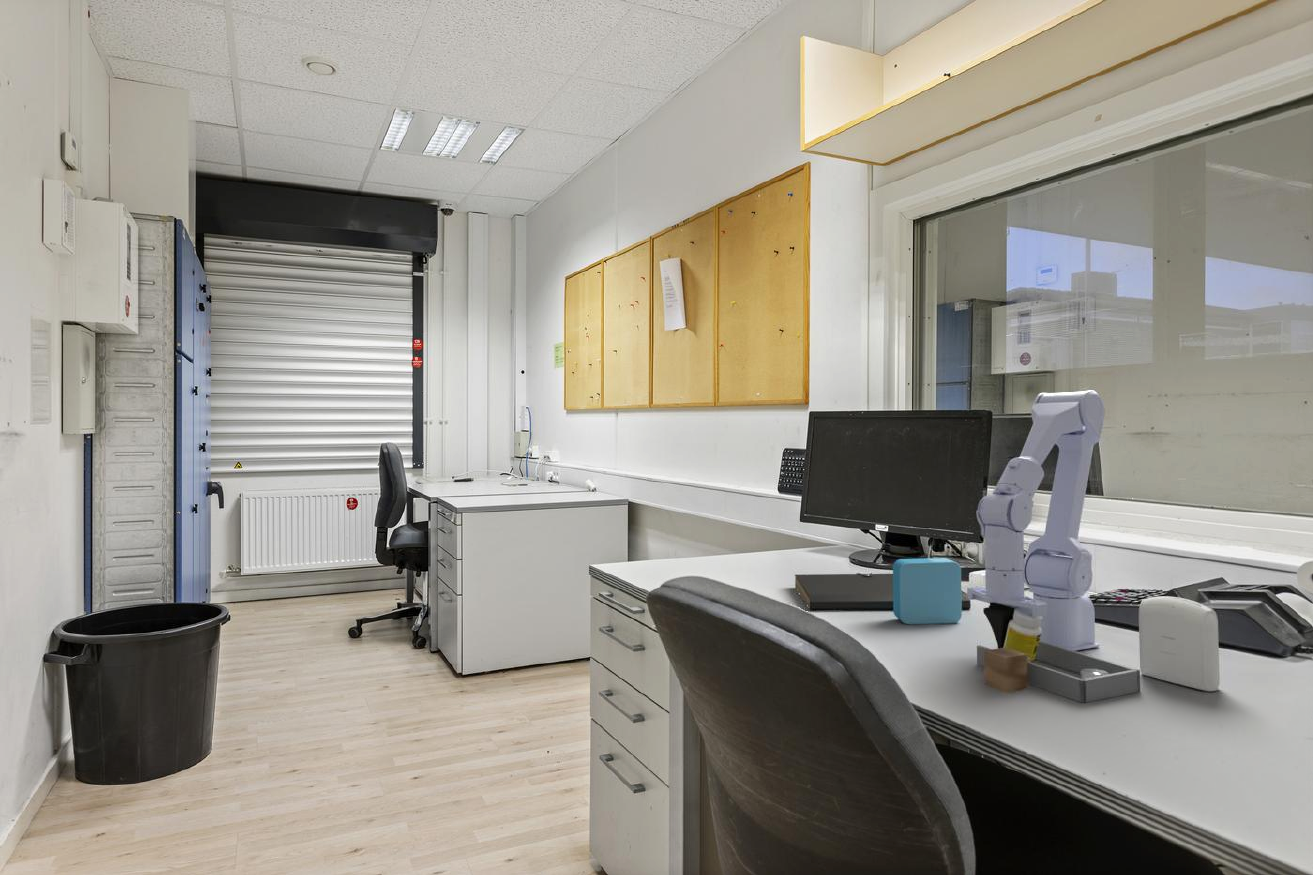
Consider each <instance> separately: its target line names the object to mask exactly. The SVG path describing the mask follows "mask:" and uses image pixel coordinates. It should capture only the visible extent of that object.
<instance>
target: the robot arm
mask: <svg viewBox="0 0 1313 875" xmlns="http://www.w3.org/2000/svg"><path fill="white" fill-rule="evenodd" d="M1032 403H1033V404H1032V406H1031V407H1030V408H1031V409H1030V410H1031V413H1030V414H1031V420H1032V426H1031V429H1030V431H1029V433H1028V436H1027V437H1026V441H1025V443H1024V446H1023V447H1022V450H1021V453H1020V455H1019V457H1014V458H1012V459H1010V460H1009V461H1008V463H1007V465H1006V467H1005V469H1004V471H1003V472H1002V474H1001V476H1000V478H999V480H998V482H997V483H996V485H995V487H994V489H993V490H992V493H988V494H986V495H985V496H984V497H982V498H981V499H980V500H979V502H978V506H977V510H976V519H977V521H978V523H979V526H980V532H981V536H982V538H983V539H984V556H985V558H984V559H985V561H984V562H985V563H984V565H985V566H984V568H985V570H984V571H985V575H984V576H985V588H984V587H980V586H968V587H967V588H966V590H967V599H970V601H973V600H974V601H979V602H984V603H987V604H989V605H988V606H987V607H983V609H982V610H983V612H982V613H983V614H984V616H985V617H986V619H987V621H988V622H989V624H990V627H991V629H992V633H993V635H994V638H995V641H996V645H997V649H998V648H1003V647H1004V643H1005V639H1006V634H1007V630H1008V625H1009V622H1010V621H1011V620H1012V619H1013V614H1014V611H1015V609H1017V608H1019V609H1021V610H1023V611H1024V612H1025V613H1028V614H1032V616H1034V617H1042V621H1041V625H1040V628H1041V631H1042V632H1041V636H1040V641H1042V642H1046V643H1049V644H1053V645H1056V646H1059V647H1063V648H1066V649H1069V650H1073V651H1076V652H1077V651H1080V650H1087V649H1094V648H1098V647H1100V643H1098V642H1096V636H1095V635H1096V630H1095V629H1096V628H1095V627H1096V626H1095V622H1096V621H1095V616H1096V615H1095V607H1094V604H1093V602H1092V600H1091V598H1090V597H1088V595H1086V593H1087V592H1088V591H1089V590H1090V588H1091V586H1092V582H1093V570H1092V563H1093V562H1092V560H1093V555H1092V554H1091V553H1090V551H1089V550H1088V549H1087V548H1086V547H1085V546H1084V545H1083V544H1082V543H1081V542H1080V541H1079V540H1078V537H1079V532H1080V527H1081V521H1082V514H1083V511H1084V510H1083V508H1084V503H1085V498H1086V491H1087V486H1088V481H1089V480H1088V479H1089V473H1090V467H1091V463H1092V458H1093V457H1092V456H1093V453H1094V452H1093V450H1094V446H1095V445H1096V444H1097V443H1099V442H1100V441H1101V434H1102V431H1103V426H1104V420H1105V413H1106V410H1105V407H1104V403H1103V400H1102V398H1101V396H1100V395H1099V393H1098V392H1097V391H1095V390H1090V389H1089V390H1086V391H1073V392H1072V391H1071V392H1050V393H1049V392H1040V393H1039V394H1038V395H1037V396H1036V397H1035V399H1034V401H1033V402H1032ZM1055 445H1056V446H1057V448H1058V456H1057V461H1056V467H1055V472H1054V479H1053V484H1052V490H1051V495H1050V500H1049V506H1048V512H1047V518H1046V523H1045V529H1044V534H1043V535H1040V537H1038V538H1037V539H1035V540H1033V541H1031V542H1030V543H1029V545H1028V549H1027V551H1026V555H1024V554H1025V552H1024V550H1025V547H1024V542H1025V541H1024V535H1025V534H1024V531H1025V530H1026V529H1027V528H1028V527H1029V526H1030V524H1031V522H1032V518H1033V517H1032V516H1033V507H1034V500H1033V498H1034V497H1035V494H1036V492H1037V491H1038V488H1039V486H1040V485H1041V483H1042V481H1043V479H1044V477H1045V472H1044V469H1043V467H1042V465H1043V463H1044V462H1045V460H1046V459H1047V457H1048V456H1049V454H1050V452H1051V450H1052V449H1053V448H1054V446H1055ZM1025 586H1026V587H1028V592H1029V593H1032V596H1033V597H1029V596H1027V595H1025Z"/></svg>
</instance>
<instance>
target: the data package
mask: <svg viewBox="0 0 1313 875" xmlns="http://www.w3.org/2000/svg"><path fill="white" fill-rule="evenodd" d="M892 574H893V610H892V611H893V615H894V616H895V618H897V619H898V620H899V621H901V622H903V623H904V624H905V625H933V624H934V625H935V624H936V625H937V624H943V625H944V624H956V623H958V622H960V620H961V619H962V615H963V610H962V597H961V590H962V567H961V565H960V564H959V563H958V562H956V561H955V560H954V561H953V560H951V559H949V558H946V557H939V558H938V557H933V558H927V557H926V558H899V559H897V560H895V561H894V562H893V565H892Z"/></svg>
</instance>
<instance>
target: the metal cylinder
mask: <svg viewBox="0 0 1313 875" xmlns="http://www.w3.org/2000/svg"><path fill="white" fill-rule="evenodd" d="M1108 674H1109V673H1108V672H1106V671H1103V670H1098V669H1082V670H1081V674H1080V679H1087V678H1092V677H1097V676H1102V675H1108Z"/></svg>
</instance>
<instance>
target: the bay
mask: <svg viewBox="0 0 1313 875" xmlns="http://www.w3.org/2000/svg"><path fill="white" fill-rule="evenodd" d="M992 649H993V648H992ZM992 649H991V648H989V647H987V646H986V647H985V646H982V645H977V646H976V664H977V665H978V666H980V667H983V668H985V654H984V651H986V650H992ZM1035 660H1038V661H1041V662H1045V663H1046V664H1049V665H1053V666H1056V667H1060V668H1062V669H1064V670H1068V671H1071V672H1075V673H1077V674H1080V675H1081V670H1082V669H1098V670H1103V671H1106V672H1108V673H1109V674H1108V675H1102V676H1097V677H1092V678H1087V679H1081V678H1079V677H1076V676H1072V675H1070V674H1067V673H1064V672H1062V671H1058V670H1055V669H1052V668H1048V667H1046V666H1043V665H1040V664H1037V663H1035V662H1034V663H1031V662H1028V661H1027V684H1030V685H1032V686H1035V687H1038V688H1041V689H1043V690H1046V691H1049V692H1052V693H1054V694H1057V695H1060V696H1062V697H1066V698H1068V699H1071V700H1074V701H1076V702H1079V703H1083V704H1085V703H1090V702H1094V701H1099V700H1104V699H1109V698H1115V697H1120V696H1124V695H1130V694H1134V693H1138V692H1139V693H1140V692H1141V670H1139V669H1137V668H1133V667H1131V666H1126V665H1122V664H1120V663H1116V662H1113V661H1109V660H1106V659H1102V658H1099V657H1097V656H1092V655H1088V654H1086V653H1083V652H1079V651H1077V650H1076V651H1073V650H1069V649H1066V648H1063V647H1059V646H1056V645H1053V644H1049V643H1046V642H1042V641H1039V645H1038V649H1037V653H1036V658H1035Z"/></svg>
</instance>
